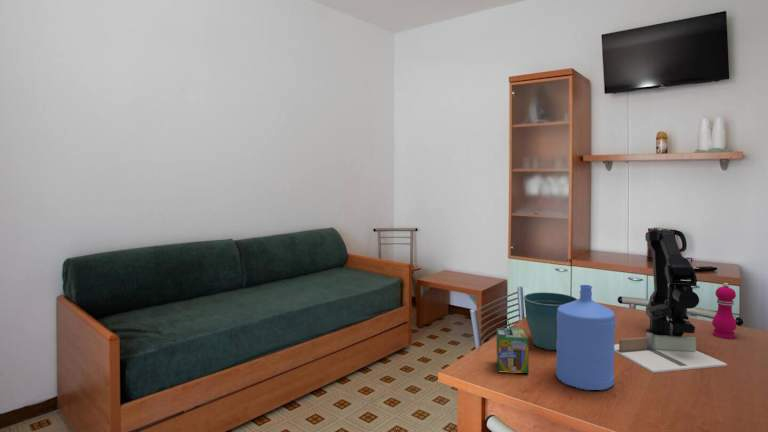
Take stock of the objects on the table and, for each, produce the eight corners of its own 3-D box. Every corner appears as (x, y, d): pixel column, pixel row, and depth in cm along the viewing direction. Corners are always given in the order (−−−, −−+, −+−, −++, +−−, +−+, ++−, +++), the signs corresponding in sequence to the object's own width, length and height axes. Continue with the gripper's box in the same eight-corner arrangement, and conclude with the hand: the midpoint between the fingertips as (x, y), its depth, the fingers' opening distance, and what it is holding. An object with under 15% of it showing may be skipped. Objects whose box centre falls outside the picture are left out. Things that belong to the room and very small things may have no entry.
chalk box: (528, 375, 137) (529, 327, 136) (497, 373, 139) (497, 326, 137) (525, 363, 146) (525, 318, 145) (495, 361, 148) (496, 317, 146)
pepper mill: (731, 333, 170) (733, 281, 169) (739, 340, 163) (741, 285, 162) (708, 331, 172) (710, 280, 171) (715, 338, 166) (718, 284, 164)
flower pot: (513, 339, 167) (513, 294, 166) (553, 333, 173) (554, 290, 172) (544, 357, 150) (545, 307, 149) (588, 350, 156) (589, 301, 155)
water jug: (611, 397, 123) (613, 295, 120) (550, 384, 131) (551, 288, 129) (616, 375, 136) (618, 283, 134) (561, 365, 144) (562, 278, 142)
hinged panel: (654, 349, 154) (655, 336, 153) (652, 347, 155) (653, 334, 155) (696, 351, 151) (696, 338, 151) (693, 349, 153) (694, 337, 152)
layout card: (606, 346, 159) (606, 330, 158) (671, 341, 163) (671, 325, 163) (653, 372, 137) (653, 353, 137) (727, 365, 141) (727, 347, 141)
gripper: (644, 289, 165) (642, 330, 167) (656, 305, 147) (654, 351, 149) (680, 292, 161) (677, 334, 163) (697, 308, 144) (693, 355, 146)
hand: (674, 343), depth 155 cm, fingers closed
